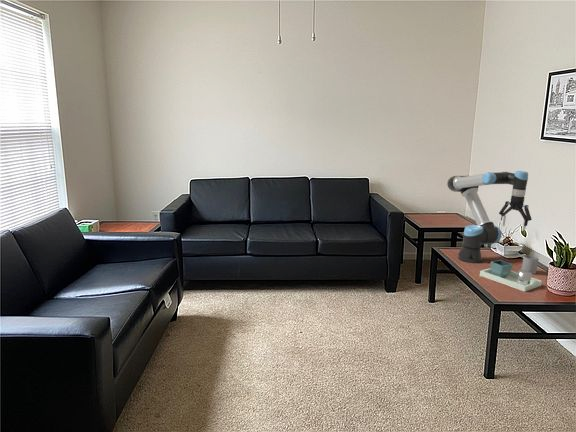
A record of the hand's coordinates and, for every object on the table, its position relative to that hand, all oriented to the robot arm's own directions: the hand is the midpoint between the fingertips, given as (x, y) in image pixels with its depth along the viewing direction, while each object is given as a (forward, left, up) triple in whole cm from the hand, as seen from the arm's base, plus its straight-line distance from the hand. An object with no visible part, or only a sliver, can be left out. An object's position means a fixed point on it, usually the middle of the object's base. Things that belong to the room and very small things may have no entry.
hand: (512, 228), depth 283 cm
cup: (+12, +5, -27) cm, 30 cm away
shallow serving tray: (+16, -24, -27) cm, 39 cm away
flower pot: (+9, -24, -26) cm, 36 cm away
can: (+24, -24, -26) cm, 43 cm away
